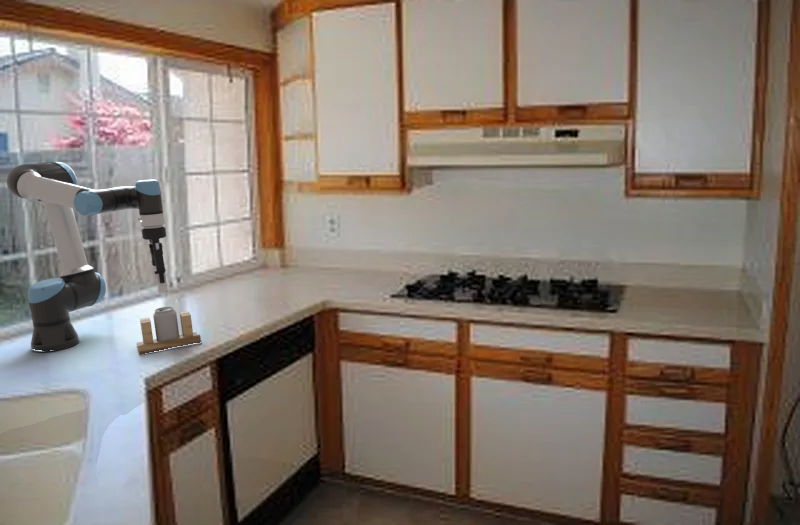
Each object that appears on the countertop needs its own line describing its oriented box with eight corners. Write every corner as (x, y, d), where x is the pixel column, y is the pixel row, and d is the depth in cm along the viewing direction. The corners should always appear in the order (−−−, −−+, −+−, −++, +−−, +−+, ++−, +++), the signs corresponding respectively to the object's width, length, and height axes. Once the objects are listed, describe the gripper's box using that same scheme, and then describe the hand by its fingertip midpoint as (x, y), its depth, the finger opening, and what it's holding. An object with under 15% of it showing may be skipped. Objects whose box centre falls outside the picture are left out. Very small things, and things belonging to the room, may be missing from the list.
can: (171, 337, 228) (167, 304, 226) (184, 340, 224) (180, 307, 222) (152, 343, 223) (147, 310, 220) (165, 346, 218) (161, 312, 216)
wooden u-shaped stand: (137, 345, 225) (133, 317, 223) (196, 334, 233) (192, 308, 231) (139, 355, 214) (135, 326, 212) (201, 343, 222) (198, 315, 220)
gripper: (138, 223, 225) (146, 282, 229) (144, 232, 203) (152, 297, 207) (161, 221, 228) (168, 279, 232) (169, 229, 206) (177, 293, 210)
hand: (161, 288), depth 220 cm, fingers open, 13 cm apart
